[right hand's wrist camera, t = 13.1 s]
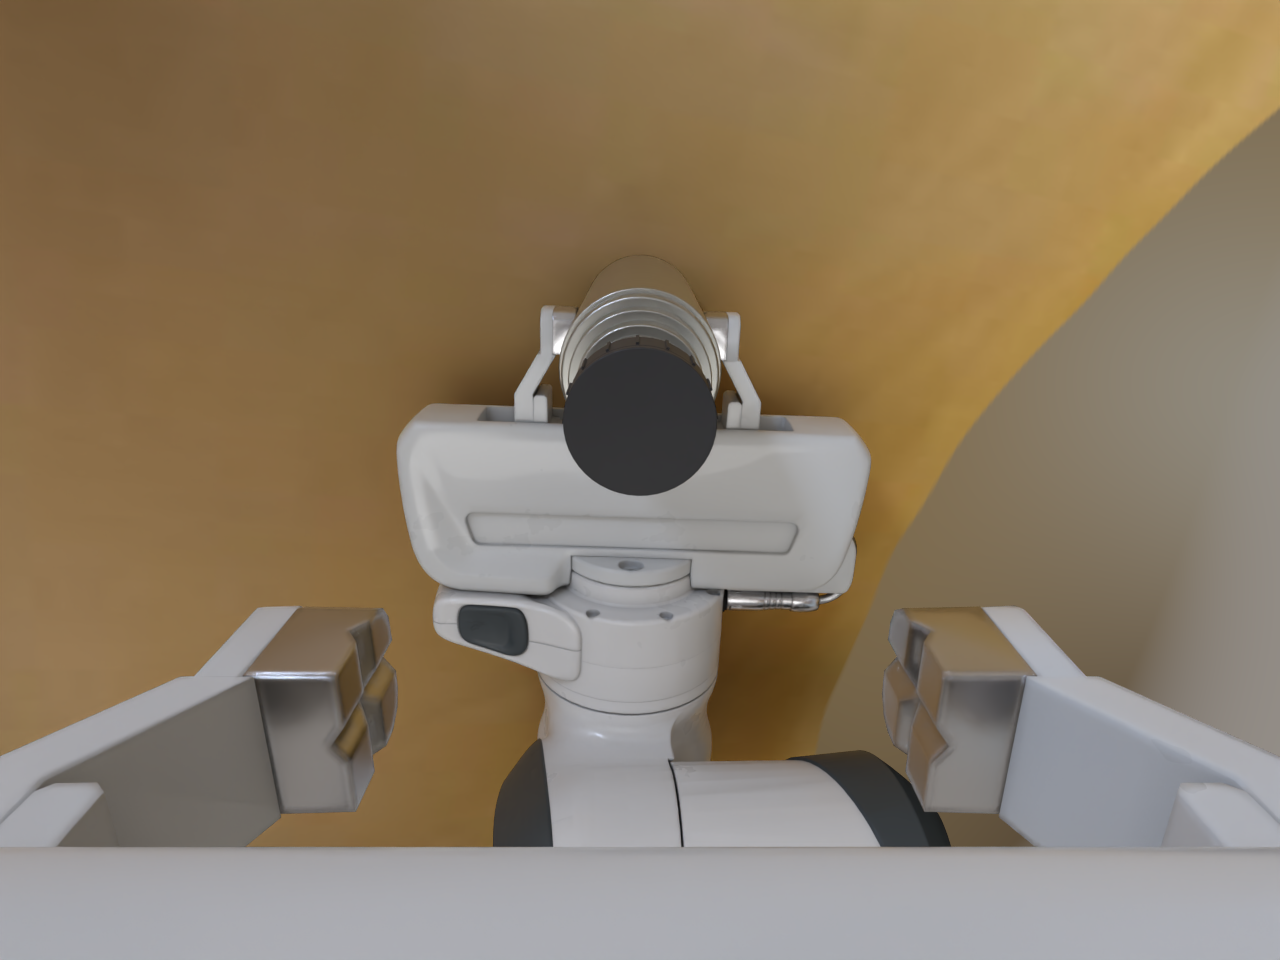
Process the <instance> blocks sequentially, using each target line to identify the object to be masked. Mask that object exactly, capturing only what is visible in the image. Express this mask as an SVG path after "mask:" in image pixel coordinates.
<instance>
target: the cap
mask: <svg viewBox="0 0 1280 960" xmlns="http://www.w3.org/2000/svg"><path fill="white" fill-rule="evenodd" d="M712 390H713V389H712V386H711V383H710V380H709V378H707V379H706V377H705V375H704V374H703V372H702V370H701V369H700V367H699V366H698V365H697V363H696V362H695V360H694V357H693V356H692V355H690V356H689V355H688V354H687V353H685V352H684V351H683V350H681V349H680V348H678V347H676V346H675V345H673V344H671V343H669V340H665V341H663V340H659V339H655V338H649V337H639V335H636V337H631V338H625V339H621V340H617V341H614V342H612V343H611V342H610V341H609V342H607V345H605V346H604V347H602V348H600V349H599V350H597V351H596V352H595V353H594V354H592V355H591V356H590V357H589V358H588V359H586V358H585V359H584V360H583V363H582V366H581V367H580V369H579V370H578V372H577V374H576V376H575V378H574V380H573V382H572V383H569V386H568V389H567V392H566V395H568V396H567V399H566V402H565V407H564V412H563V419H562V424H563V431H564V436H565V441H566V444H567V447H568V450H569V452H570V454H571V456H572V458H573V459H574V461H575V462H576V464H577V465H578V467H579V468H580V469H581V470H582V471H583V472H584V473H585V474H586V475H587V476H588V477H589V478H590V479H592V480H593V481H594V482H596V483H597V484H599V485H600V486H602V487H605V488H607V489H609V490H611V491H614V492H617V493H621V494H625V495H632V496H649V495H655V494H660V493H663V492H667V491H669V490H671V489H674V488H676V487H678V486H679V485H681V484H683V483H684V482H686V481H687V480H688V479H690V478H691V477H692V476H693V475H694V474H695V473H696V472H697V471H698V470H699V469H700V468H701V466H702V465H703V464H704V463H705V461H706V459H707V458H708V456H709V454H710V452H711V449H712V447H713V444H714V441H715V437H716V431H717V419H718V414H717V411H716V406H715V402H714V399H713V396H712V393H711V391H712Z"/></svg>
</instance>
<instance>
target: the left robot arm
mask: <svg viewBox="0 0 1280 960" xmlns="http://www.w3.org/2000/svg"><path fill="white" fill-rule="evenodd" d="M578 310H579V308H578V307H571V306H555V305H544V306H543V307H542V309H541V316H540V351H539V352H538V354H537V356H536V357H535V359H534V361H533V362H532V364H531V366H530V368H529V369H528V371H527V373H526V375H525V376H524V378H523V380H522V381H521V383H520V385H519V387H518V388H517V390H516V392H515V393H514V406H499V405H469V404H442V403H434V404H430V405H427V406H426V407H424V408H423V409H422V410H421V411H420V412H419V413H417V414H416V415H415V416H414V417H413V418H412V419H411V420H410V421H409V423H408V424H407V425H406V426H405V428H404V429H403V430H402V432H401V434H400V436H399V438H398V441H397V450H396V451H397V466H398V476H399V484H400V491H401V497H402V503H403V509H404V514H405V519H406V524H407V528H408V532H409V536H410V541H411V544H412V548H413V551H414V553H415V556H416V558H417V560H418V562H419V563H420V565H421V567H422V568H423V570H424V571H425V572H426V573H427V574H428V575H429V576H430V577H431V578H432V579H434V580H435V581H437V582H438V583H440V585H439V588H438V591H437V594H436V598H435V602H434V607H433V624H434V628H435V631H436V632H437V634H438V635H439V636H441V637H442V638H444V639H446V640H448V641H450V642H453V643H456V644H459V645H462V646H466V647H469V648H473V649H476V650H479V651H482V652H485V653H489V654H492V655H495V656H498V657H501V658H504V659H507V660H509V661H512V662H515V663H518V664H520V665H523V666H525V667H528V668H531V669H533V670H535V671H537V673H538V677H539V680H540V683H541V686H542V689H543V692H544V696H545V709H544V712H543V715H542V718H541V721H540V724H539V729H538V740H537V741H535V742H534V743H533V744H532V745H531V746H530V747H529V748H528V750H527V751H526V752H525V753H524V754H523V756H522V757H521V758H520V760H519V761H518V762H517V764H516V765H515V767H514V768H513V769H512V771H511V772H510V774H509V775H508V776H507V778H506V779H505V781H504V782H503V784H502V787H501V789H500V792H499V796H498V799H497V804H496V809H495V817H494V829H493V847H951V845H950V842H949V839H948V835H947V833H946V830H945V827H944V825H943V822H942V820H941V818H940V816H939V814H938V813H937V812H924V810H923V808H922V806H921V803H920V801H919V799H918V797H917V795H916V793H915V791H914V788H913V786H912V784H911V783H910V782H909V781H907V780H906V779H905V778H904V777H903V776H901V775H900V774H899V773H898V772H896V771H895V770H894V769H893V768H892V767H890V766H889V765H887V764H886V763H885V762H883V761H882V760H880V759H879V758H878V757H876V756H875V755H873V754H871V753H869V752H866V751H861V750H858V751H848V752H839V753H830V754H820V755H810V756H801V757H791V758H789V759H787V760H768V761H711V751H712V733H711V727H710V724H709V720H708V716H707V704H708V700H709V698H710V696H711V694H712V692H713V689H714V687H715V683H716V679H717V673H718V664H719V652H720V639H721V627H722V612H724V610H746V611H761V610H768V609H769V610H773V609H784V610H789V611H792V612H811V611H816V610H818V608H819V604H824V603H828V602H831V601H833V600H835V599H837V598H838V597H840V596H841V595H842V594H843V593H845V592H846V591H847V590H848V589H849V587H850V585H851V583H852V580H853V575H854V568H855V561H856V554H857V545H856V541H855V538H854V536H853V535H854V532H855V529H856V526H857V523H858V519H859V516H860V512H861V509H862V505H863V501H864V497H865V493H866V488H867V484H868V479H869V474H870V467H871V455H870V452H869V449H868V448H867V446H866V444H865V443H864V441H863V440H862V438H861V437H860V436H859V434H858V433H857V432H856V431H855V430H854V429H853V428H852V427H851V426H850V425H849V424H848V423H847V422H846V421H844V420H843V419H841V418H838V417H818V416H789V415H760V411H761V401H760V399H759V397H758V395H757V393H756V391H755V389H754V387H753V385H752V383H751V381H750V379H749V377H748V375H747V372H746V370H745V368H744V366H743V364H742V362H741V360H740V359H739V357H738V355H739V342H740V329H741V320H740V315H739V314H738V313H737V312H711V311H703V313H704V315H705V317H706V319H707V321H708V323H709V325H710V327H711V329H712V331H713V333H714V335H715V338H716V340H717V343H718V347H719V350H720V356H721V360H722V361H723V363H724V365H725V367H726V369H727V371H728V373H729V376H730V378H731V380H732V382H733V384H734V386H735V388H736V390H737V393H736V392H735V391H730V390H726V391H725V392H724V393H723V404H722V413H717V414H718V419H717V431H716V437H715V441H714V444H713V447H712V449H711V452H710V454H709V456H708V458H707V459H706V461H705V463H704V464H703V465H702V466H701V468H700V469H699V470H698V471H697V472H696V473H695V474H694V475H693V476H692V477H691V478H690V479H688V480H687V481H686V482H684V483H683V484H681V485H679V486H678V487H676V488H674V489H671V490H669V491H667V492H663V493H660V494H655V495H649V496H632V495H625V494H621V493H617V492H614V491H611V490H609V489H607V488H605V487H602V486H600V485H599V484H597V483H596V482H594V481H593V480H592V479H590V478H589V477H588V476H587V475H586V474H585V473H584V472H583V471H582V470H581V469H580V468H579V467H578V465H577V464H576V462H575V461H574V459H573V458H572V456H571V454H570V452H569V450H568V447H567V444H566V441H565V436H564V431H563V424H562V419H563V412H564V408H557V407H553V403H552V386H551V385H550V384H541V385H540V386H539V383H540V382H541V380H542V378H543V376H544V375H545V373H546V371H547V370H548V368H549V366H550V364H551V363H552V361H553V359H554V358H555V356H556V354H560V352H561V347H562V344H563V341H564V338H565V336H566V334H567V332H568V330H569V328H570V326H571V324H572V322H573V320H574V318H575V316H576V314H577V312H578ZM819 593H827V594H825V595H820V596H819Z"/></svg>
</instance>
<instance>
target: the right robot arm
mask: <svg viewBox="0 0 1280 960" xmlns="http://www.w3.org/2000/svg"><path fill="white" fill-rule="evenodd" d="M391 641H392V637H391V631H390V624H389V618H388V615H387V614H386V612H385V611H384V609H383V608H347V607H301V606H276V607H261V608H257V609H256V610H255V611H254V612H253V613H252V614H251V615H250V616H249V617H248V618H247V620H246V621H245V622H244V623H243V624H242V625H241V626H240V627H239V628H238V629H237V630H236V631H235V632H234V634H233V635H232V636H231V637H230V638H229V639H228V640H227V641H226V642H225V643H224V644H223V645H222V647H221V648H220V649H219V650H218V651H217V652H216V653H215V654H214V655H213V656H212V657H211V658H210V660H209V661H208V662H207V663H206V664H205V665H204V666H203V667H202V668H201V669H200V670H199V671H198V672H197V674H196V675H195V676H186V677H178V678H176V679H174V680H171V681H169V682H167V683H165V684H162V685H160V686H158V687H156V688H153V689H151V690H149V691H147V692H144V693H142V694H140V695H138V696H135V697H133V698H131V699H129V700H126V701H124V702H122V703H119V704H117V705H115V706H113V707H110V708H108V709H106V710H104V711H101V712H99V713H97V714H95V715H92V716H90V717H88V718H86V719H83V720H81V721H79V722H77V723H74V724H72V725H70V726H67V727H65V728H63V729H61V730H58V731H56V732H54V733H52V734H49V735H47V736H45V737H43V738H40V739H38V740H36V741H34V742H31V743H29V744H27V745H25V746H22V747H20V748H18V749H15V750H13V751H11V752H9V753H6V754H4V755H2V756H0V960H1280V756H1277V755H1275V754H1273V753H1271V752H1269V751H1266V750H1264V749H1262V748H1260V747H1257V746H1255V745H1253V744H1251V743H1248V742H1246V741H1244V740H1241V739H1239V738H1237V737H1235V736H1232V735H1230V734H1228V733H1226V732H1223V731H1221V730H1219V729H1217V728H1214V727H1212V726H1210V725H1208V724H1205V723H1203V722H1201V721H1199V720H1196V719H1194V718H1192V717H1190V716H1187V715H1185V714H1183V713H1181V712H1178V711H1176V710H1174V709H1172V708H1169V707H1167V706H1165V705H1163V704H1160V703H1158V702H1156V701H1154V700H1151V699H1149V698H1147V697H1145V696H1142V695H1140V694H1138V693H1136V692H1133V691H1131V690H1129V689H1127V688H1124V687H1122V686H1120V685H1117V684H1115V683H1113V682H1111V681H1109V680H1106V679H1104V678H1102V677H1094V676H1093V677H1092V676H1085V675H1084V674H1083V673H1082V671H1081V670H1080V669H1079V668H1078V667H1077V666H1076V665H1075V664H1074V663H1073V662H1072V661H1071V659H1070V658H1069V657H1068V656H1067V655H1066V654H1065V653H1064V652H1063V651H1062V650H1061V649H1060V648H1059V647H1058V645H1057V644H1056V643H1055V642H1054V641H1053V640H1052V639H1051V638H1050V637H1049V636H1048V635H1047V634H1046V632H1045V631H1044V630H1043V629H1042V628H1041V627H1040V626H1039V625H1038V624H1037V623H1036V622H1035V621H1034V619H1033V618H1032V617H1031V616H1030V615H1029V614H1028V613H1027V612H1026V611H1025V610H1024V609H1022V608H1020V607H1017V606H996V607H945V608H903V609H898V610H895V611H894V614H893V616H892V619H891V622H890V629H889V637H888V641H889V643H890V644H891V646H892V648H893V650H894V652H895V654H896V656H897V657H896V659H894V661H893V662H892V663H891V664H890V665H889V666H888V667H887V668H886V669H885V670H884V679H883V689H882V699H883V713H884V719H885V723H886V727H887V731H888V733H889V736H890V738H891V740H892V743H893V745H894V746H895V747H897V748H898V749H899V750H901V751H902V752H904V753H905V754H907V755H908V756H907V763H906V773H907V776H908V778H909V780H910V782H911V784H912V786H913V788H914V791H915V793H916V795H917V797H918V799H919V801H920V803H921V806H922V808H923V810H924V812H954V813H955V812H956V813H991V814H999V818H1001V819H1002V820H1003V821H1004V822H1006V823H1007V824H1008V825H1009V826H1011V827H1012V828H1013V829H1014V830H1015V831H1017V832H1018V833H1019V834H1020V835H1021V836H1023V837H1024V838H1025V839H1026V840H1028V841H1029V842H1030V843H1031V844H1033V845H1034V846H1035V847H245V846H247V845H248V844H249V843H250V842H251V841H253V840H254V839H255V838H256V837H258V836H259V835H260V834H261V833H263V832H264V831H265V830H266V829H267V828H269V827H270V826H271V825H272V824H274V823H275V822H276V821H277V820H278V819H280V818H281V814H289V813H324V812H356V810H357V808H358V806H359V804H360V801H361V799H362V797H363V795H364V793H365V791H366V789H367V786H368V784H369V782H370V780H371V778H372V776H373V773H374V763H373V754H375V753H376V752H378V751H379V750H381V749H382V748H383V747H385V746H386V745H387V743H388V740H389V738H390V735H391V733H392V731H393V727H394V722H395V717H396V712H397V701H398V686H397V677H396V670H395V669H394V668H393V667H392V666H391V665H390V664H389V663H388V662H387V661H386V659H385V658H384V657H383V656H384V654H385V652H386V650H387V648H388V646H389V644H390V643H391Z"/></svg>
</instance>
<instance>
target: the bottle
mask: <svg viewBox="0 0 1280 960" xmlns="http://www.w3.org/2000/svg"><path fill="white" fill-rule="evenodd" d="M636 335H639V337H649V338H655V339H659V340H663V341H665V340H669V343H671V344H673V345H675V346H676V347H678V348H680V349H681V350H683V351H684V352H685V353H687V354H688V355H689V356H690V355H692V356H693V357H694V360H695V362H696V363H697V365H698V366H699V367H700V369H701V370H702V372H703V374H704V375H705V377H706V379H707V378H709V380H710V383H711V386H712V389H713V390H712V391H711V393H712V396H713V399H714V400H715V398H716V396H717V393H718V389H719V386H720V380H721V356H720V350H719V347H718V343H717V340H716V338H715V335H714V333H713V331H712V329H711V327H710V325H709V323H708V321H707V319H706V317H705V315H704V313H703V311H702V309H701V307H700V305H699V304H698V302H697V300H696V298H695V296H694V294H693V292H692V290H691V288H690V286H689V284H688V282H687V281H686V279H685V278H684V277H683V275H682V274H681V273H680V272H679V271H678V270H677V269H676V268H675V267H673V266H672V265H671V264H669V263H667V262H666V261H664V260H661V259H659V258H656V257H652V256H646V255H634V256H628V257H625V258H621V259H619V260H617V261H615V262H613V263H611V264H610V265H608V266H607V267H606V268H605V269H603V270H602V271H601V272H600V273H599V275H598V276H597V277H596V278H595V280H594V281H593V283H592V285H591V287H590V289H589V291H588V293H587V295H586V297H585V299H584V301H583V302H582V304H581V306H580V308H579V310H578V312H577V314H576V316H575V318H574V320H573V322H572V324H571V326H570V328H569V330H568V332H567V334H566V336H565V338H564V341H563V344H562V347H561V352H560V357H559V379H560V384H561V389H562V392H563V395H564V398H565V400H566V399H567V396H568V395H566V392H567V389H568V386H569V383H572V382H573V380H574V378H575V376H576V374H577V372H578V370H579V369H580V367H581V366H582V363H583V360H584V359H585V358H586V359H588V358H589V357H590V356H591V355H592V354H594V353H595V352H596V351H597V350H599V349H600V348H602V347H604V346H605V345H607V342H609V341H610V342H611V343H612V342H614V341H617V340H621V339H625V338H631V337H636Z"/></svg>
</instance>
